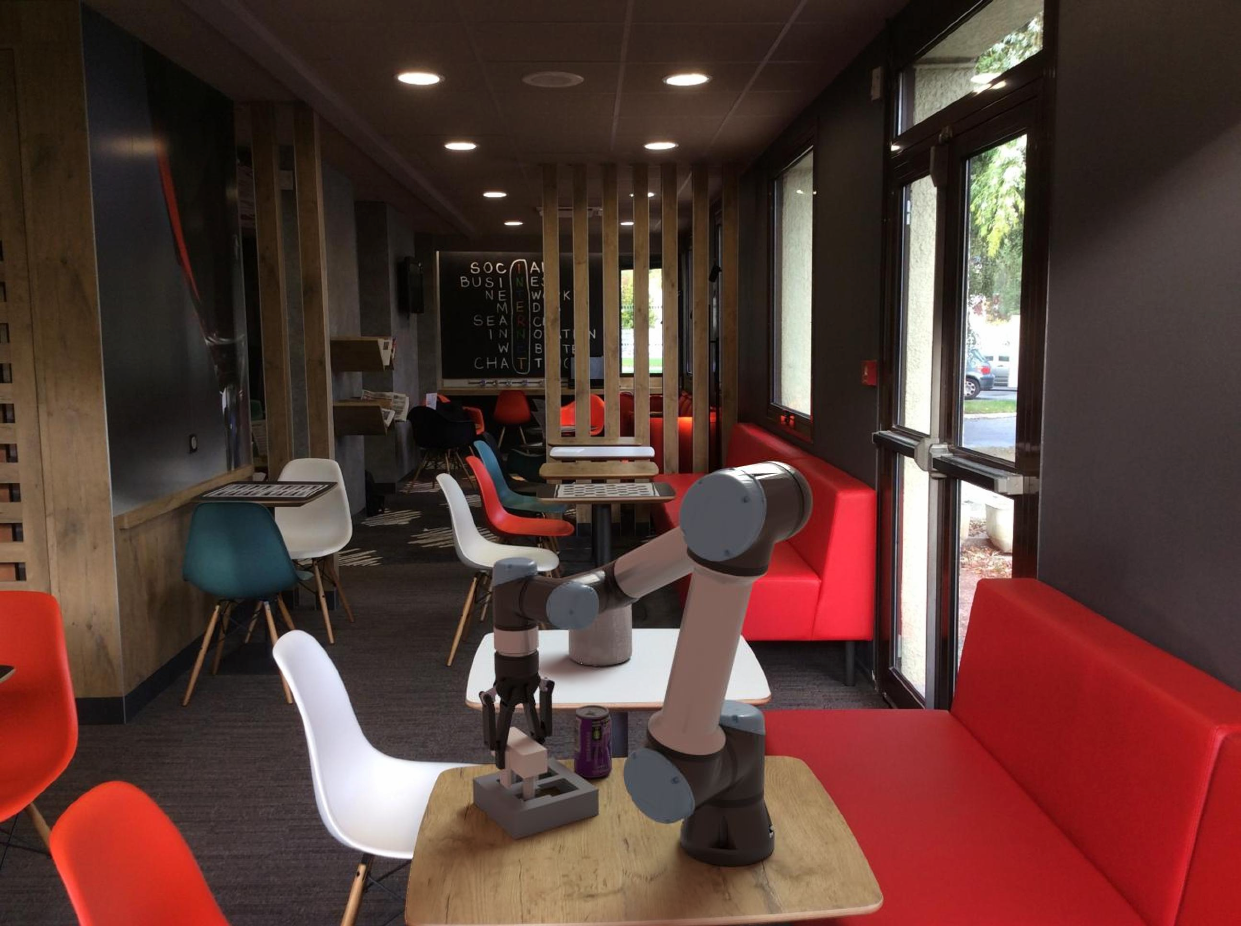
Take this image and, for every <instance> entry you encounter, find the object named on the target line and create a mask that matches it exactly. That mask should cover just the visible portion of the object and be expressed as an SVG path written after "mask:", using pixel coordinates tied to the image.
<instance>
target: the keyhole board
mask: <svg viewBox="0 0 1241 926" xmlns="http://www.w3.org/2000/svg"><path fill="white" fill-rule="evenodd" d="M538 776H539V781H535V796H536V795H539V794H541V790H545V789H548V788H551V787H554V788H556V789H557V790H559V791H560V792H561V794H558V795H554V796H552V795H550V794H546V795H543V796H540V797H535V799H532V800H528V801H525V802H523V800H522V801H521V800H520V799H521V798H522V799H523V778H522V777H521V776H519V775H518V774H517V773H516V784H512V785H511V788H509V789H507V788H505V787H504V786H503V785H502V784H500V770H499V771H494V772H491V773H487V774H483V775H480V776H475V777H473V778H472V800H473V804H474V805H476V806H477V807H478V808H479V809H480V810H481V811H482V812H484V814H486V816H488V817H489V818H490V819H491V820H492V821H494V823H496V824H497V825H498V826H499V827H500V828H502V830H503V831H505V833H507V834H508V835H509V836H510V837H512V838H513V839H514V840H518V839H522V838H525V837H528V836H531V835H535V834H539V833H542V832H545V831H548V830H552V829H554V828H557V827H561V826H565V825H567V824H571V823H575V822H577V821H580V820H584V819H588V818H591V817H593V816H594V817H595V816H598V815H600V814H599V813H600V811H599V809H600V807H599V805H600V804H599V799H600V798H599V795H600V794H599V789H598V788H597V787H596V786H594V785H593V784H591V783H590V782H589V781H587V780H586V779H584V778H583V776H581V775H580V774H578V773H576V772H575V771H574V770H571V769H570V768H569V767H568V766H566V765H565V764H563V762H560V761H559V760H558V759H556V758H554V757H549V758H548V757H547V773H543V774H539V775H538Z"/></svg>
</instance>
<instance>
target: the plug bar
mask: <svg viewBox="0 0 1241 926" xmlns="http://www.w3.org/2000/svg"><path fill="white" fill-rule="evenodd" d="M506 748H507V749H508V750H509V751H510V757H511V785H512V784H516V773H517V774H518V775H519V776H521V777H522V778H523V798H521V799H520V800H521V801H522V802H525V801H528V800H532V799H535V798H536V795H535V775H539V774H543V773H547V759H548V749H547V748H546V747H544V746H543V745H542V746H541V745H540V744H538V743H537V742H536V741H534V740H533V739H532V738H531V736H528V735H527V734H526V733H524V732H522V730H520V729H518V728H517V727H515V726H510V731H509V736H508V742H507V747H506ZM490 753H491V755H492V756H493V757H494V758H495V751H491V750H490Z"/></svg>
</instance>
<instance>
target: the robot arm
mask: <svg viewBox="0 0 1241 926" xmlns="http://www.w3.org/2000/svg"><path fill="white" fill-rule="evenodd" d="M813 499H814V498H813V492H812V489H811V486H810V484H809V482H808V481H807V480H806V477H805V476H804V475H803V474H802V473H801V472H800V471H799V470H797V469H796V468H795V467H793V466H791V465H789V464H788V463H784V462H781V461H775V460H773V461H772V460H771V461H763V462H761V461H760V462H757V463H754V464H748V465H744V466H739V467H725V468H721V469H717V470H715V471H713V472H712V473H710V474H709V473H708V474H706V475H704V476H702V477H700V478H699V479H697V480H696V481H695V482H693V483H692V485H691V486H690V487H689V488H688V489H687V491H686V492H685V494H684V496H683V498H682V500H681V503H680V506H679V513H678V522H679V525H678V526H676V527H675V528H672V529H671V530H669V531H667V532H665V533H663V534H661V535H659V536H657V537H655V538H654V539H652V540H650V541H648V542H646V543H644V544H643V545H641V546H639V547H637V548H635V549H633V550H631V551H628V552H627V553H625V554H624V555H622V556H620V557H618V558H616V559H614V560H613V561H610V562H608V563H606V564H604V565H603V566H600V567H597V568H594V569H590V570H585V571H583V572H580V573H576V574H573V575H569V576H565V577H562V578H555V577H548V576H544V575H540V574H538V573H539V570H538V564H537V561H535V560H534V559H533V558H530V557H523V556H518V557H517V556H513V557H506V558H502V559H499V560H497V561H495V563H494V564H493V565H492V576H491V577H492V578H491V589H492V590H491V591H492V617H493V648H494V650H495V652H494V653H493V664H494V667H493V669H494V676H495V678H494V681H493V684H492V687H490V688H489V689H488V690H486V691H485V690H480V691H479V692H478V697H479V700H480V702H481V706H482V707H481V708H482V730H483V731H482V733H483V736H482V737H483V746H484V747H486V748H487V749H488V750H489V751H490V752H491V751H495V757H494V765H495V767H496V768H497V769H498V770H499V771H500V784H502V785H503V786H504V787H505V788H507V789H509V788H511V757H510V751H509V750H508V749H507V748H506V747H507V742H508V736H509V731H510V728H511V724H512V719H513V714H514V713H515V711H516V706H518V705H520V704H522V708H523V711H524V715H525V720H526V724H527V727H528V731H529V737H530V738H531V739H533V740H534V741H536V742H537V743H538V744H540V745H541V746H543V745H544V744H545V743H546V738H550V737H552V735H553V692H554V689H555V686H556V683H555V681H554V680H552V679H551V678H549V677H547V676H545V677H541V674H540V673H539V671H540V651H539V650H538V648H539V647H540V642H539V641H540V639H539V638H540V636H539V623H540V624H544V625H547V626H548V625H549V626H552V627H555V628H558V629H560V630H564V631H569V630H575V631H581V630H585V629H587V628H588V627H589V626H590V624H591V623H592V622H594V620H595V619H596V617H597V615H599V614H601V613H605V612H608V611H611V610H614V609H617V608H623V607H626V606H628V605H630V604H631V605H632V604H634V603H636V602H637V601H639V600H640V599H641V597H643V596H646V595H648V594H650V593H651V592H654V591H656V590H658V589H660V588H662V587H664V586H666V585H668V584H671V583H673V582H675V581H677V580H679V579H681V578H682V577H685V576H687V575H689V574H691V573H692V574H691V579H690V582H689V588H688V591H687V596H686V600H685V604H684V609H683V615H682V619H681V623H680V627H679V630H678V636H677V641H676V645H675V650H674V654H673V658H672V662H671V663H672V664H671V667H670V672H669V675H668V676H669V677H668V681H667V684H666V689H665V695H664V699H663V703H662V708H661V710H658V711H656V712H654V713H653V714H652V715H650V717H649V720H648V722H647V726H646V727H647V728H646V730H645V735H644V739H643V743H642V745H641V747H637V748H635V749H634V750H632V751H631V752H630V754H629V755H628V756H627V757H626V759H625V762H624V764H623V774H622V775H623V776H622V777H623V781H624V786H625V788H626V789H625V790H626V792H627V793H628V795H629V796H630V798H631V801H632V802H633V804H634V805H635V807H636V808H637V809H638V810H639V811H640V812H641V813H642V814H643V815H644V816H646V817H647V818H648V819H650V820H651V821H654V822H657V823H658V824H664V825H669V824H670V825H671V824H675V823H677V822H680V821H682V822H681V824H680V829H679V831H680V833H679V835H680V840H679V841H680V846H681V848H682V849H683V851H684V852H685V853H687V855H689V856H690V857H692V858H694V859H696V860H699V861H701V862H704V863H708V864H710V865H715V866H725V867H726V866H727V867H737V866H747V865H750V864H751V865H752V864H754V863H758V862H761V861H762V860H765V859H766V858H767V857H770V855H771V854H772V853H773V851H774V849H775V841H776V840H775V834H776V833H775V829H774V825H773V823H772V822H773V821H772V818H771V816H770V813H769V809H768V806H767V803H766V800H765V762H766V760H765V753H766V735H767V732H766V729H765V728H766V727H765V717H764V714H763V712H762V711H761V710H760V709H759V708H758V707H756V706H754V705H752V704H750V703H746V702H742V701H737V700H734V699H733V700H732V699H726V696H727V691H728V686H729V684H730V683H729V682H730V679H731V675H732V671H733V667H734V663H735V658H736V655H737V652H738V647H739V643H740V638H741V634H742V630H743V627H744V623H745V619H746V614H747V610H748V607H749V601H750V598H751V593H752V590H753V586H754V582H755V581H757V580H758V579H760V578H763V577H764V576H765V575H766V574H767V573H768V571H769V567H770V562H771V559H772V555H773V551H774V547H775V544H776V543H780V542H783V541H785V540H788V539H790V538H792V537H793V536H796V534H799V532H801V531H802V530H803V529H804V528H805V526H806V525H807V523H808V521H809V520H810V517H811V515H812V511H813V502H814V500H813ZM537 690H539V691H538V692H539V693H538V695H539V696H538V697H539V698H538V699H539V700H538V701H539V703H538V705H539V706H538V711H539V712H537V708H536V706H537V703H536V699H535V693H536V692H537ZM496 696H498V697H499V698H500V700H499V704H498V705H499V713H498V719H497V723H496V706H495V703H496V702H497V701H496ZM538 713H539V714H538ZM496 724H497V725H496ZM535 781H539V776H538V775H535Z"/></svg>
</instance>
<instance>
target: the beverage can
mask: <svg viewBox="0 0 1241 926" xmlns="http://www.w3.org/2000/svg"><path fill="white" fill-rule="evenodd" d="M609 711H610V710H609V708H608V707H606V706H603V705H599V704H589V705H583V706H580V707H578V708H576V710H575V715H574V718H573V720H572V721H573V725H572V726H573V727H572V728H573V729H572V730H573V772H574V773H576V774H577V775H579V776H581V777H584V778H591V779H596V778H602V777H603V776H605V775H607V774H609V773H610V772H612V770H613V755H612V753H613V752H612V751H613V748H612V745H613V743H612V739H613V738H612V732H613V731H612V718H611V716H610V712H609Z"/></svg>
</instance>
